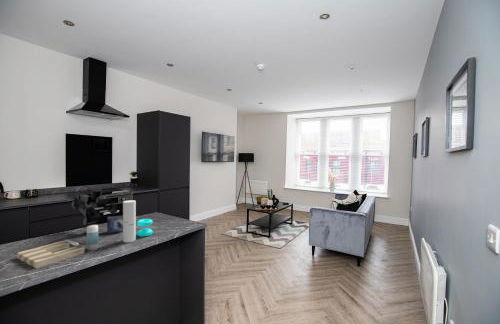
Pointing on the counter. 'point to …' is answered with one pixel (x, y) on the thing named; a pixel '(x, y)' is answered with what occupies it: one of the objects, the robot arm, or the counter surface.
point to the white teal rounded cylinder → (92, 237)
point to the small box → (114, 224)
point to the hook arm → (72, 243)
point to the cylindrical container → (129, 221)
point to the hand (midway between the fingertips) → (107, 215)
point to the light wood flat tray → (49, 254)
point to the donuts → (145, 231)
